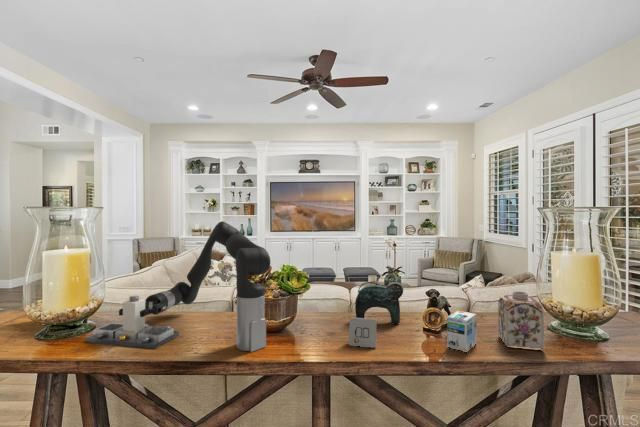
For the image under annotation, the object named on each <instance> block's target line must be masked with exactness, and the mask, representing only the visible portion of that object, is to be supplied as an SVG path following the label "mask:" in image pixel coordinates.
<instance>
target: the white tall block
mask: <svg viewBox="0 0 640 427" xmlns="http://www.w3.org/2000/svg"><path fill="white" fill-rule="evenodd" d="M145 300H146V299H145V298H144V299H143V298H142V299H140V296H139V295H131V296H129V299H128V300H125V301H122V308H123V315H122V322H123V332H133V333H136V332H138V331H140V330H142V329H144V328H145V324H146V316H144V317H140V311H142V310H144V309H145Z"/></svg>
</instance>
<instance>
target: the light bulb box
mask: <svg viewBox="0 0 640 427" xmlns="http://www.w3.org/2000/svg"><path fill="white" fill-rule="evenodd" d="M477 318H478V315H477V314H476V313H472V312H467V311H463V310H457V311H455V312H453V313H452V314H449V315H447V318H446V319H447V321H446V322H447V323H446V324H447V326H446V327H447V332H446V333H447V334H446V335H447V338H446V339H447V340H446V343H447V344H446V345H447V347H450V348H454V349H459V350H464V351H468V350H469V349H470V348H472V347H473V346H474V345H475V344H476V343H477V344H478V342H477V340H478V339H477V337H478V336H477V334H478V333H477V328H478V326H477V325H478V320H477ZM447 347H446V348H447ZM473 348H474V347H473ZM473 348H472V349H473Z"/></svg>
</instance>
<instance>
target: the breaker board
mask: <svg viewBox="0 0 640 427" xmlns="http://www.w3.org/2000/svg"><path fill="white" fill-rule="evenodd" d="M179 333H180V332H179V331H178V330H174V327H171V325H163V326H152V325H149V324H147V323H145V328H144V329H142V330H140V331H138V332H136V333H133V332H123V321H122V322H120V323H119V322H111V323H107V324H105V325H102V326H100V327H97V328H95V329H93V335H90V336H88V337H86V338H85V339H86V341H85V342H86V343H91V344H100V345H102V344H103V345H110V346H122V347H129V348H130V347H131V348H132V347H133V348H143V349H151V350H156V349H157V348H159V347H161V346H163V345H164V344H167V343H168V342H170V341H172V340H173V339H175V338H177V337H178V336H180V334H179Z"/></svg>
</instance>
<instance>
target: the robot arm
mask: <svg viewBox="0 0 640 427" xmlns="http://www.w3.org/2000/svg"><path fill="white" fill-rule="evenodd" d="M216 243H218V244H220V245H222V246H224V247H225V249H226V250H225V251H226V252H227V253H228V255H229V256H230V257H232V258H233V259H234V260H235V270H236V271H235V272H236V276H235V277H236V348H237V349H238V350H240V351H243V352H244V351H245V352H250V353H251V352H252V353H253V352H255V351H258V350H261V349H263V348H266V347H267V318H265V301H266V300H265V294H266V293H265V287H264V285H262V284H259V283H256V282H252V281H250V280H249V276H257V275H258V276H260V275H264V274H266V273H267V272H268V271H270V268H271V257H270V254H269V251H267V250H266V248H264V247H262V246H260V245H258V244H255V243H254V242H253V241H252V240H250V239H249V238H248V237H247V236H245V235H244V234H242V233H241V231H239V230H238V228H236V227H234V226H233V225H231V224H229V223H227V222H225V221H224V220H223V221H220V222H218V223H217V224H216V225H215V227H213V230H212V231H211V232H210V235H209V237H208V239H207V241H206V243H205V244H204V246H203V248H202V250H201V252H200V255H199V256H198V258H197V260H196V261H195V263H194V265H193V266H192V267H191V269H190V270H189V272H188V273H187V275H186V279H187V281H188V282H189V284H190V285H189V284H188V283H186V282H185V281H179V282H178V283H176V284H175V285H174V286H173V287H171V288H170V289H168V290H164V291H160V292H157V293H156V292H155V293H154V294H150V295H149V296H147V297H146V299H144V300H145V309H144V310H142V311H140V317H144V316H145V317H147V316H151V315H154V316H155V315H159V314H161V313H163V312H165V311H168V310H169V309H170V308H172V307H174V306H177V305H179V304H180V303H183V304H184V305H190V304H192V303H193V302H195V300H196V298H197V296H198V294H199V290H200V288H201V285H202V283H203V281H204V279H205V278H206V277H207V275H208V274H209V272H210V271H211V267H212V254H213V252H212V251H213V248H214V246H215V244H216ZM118 315H119V316H120V317H121V316H122V317H123V307H122V308H120V309H119V310H118Z"/></svg>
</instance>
